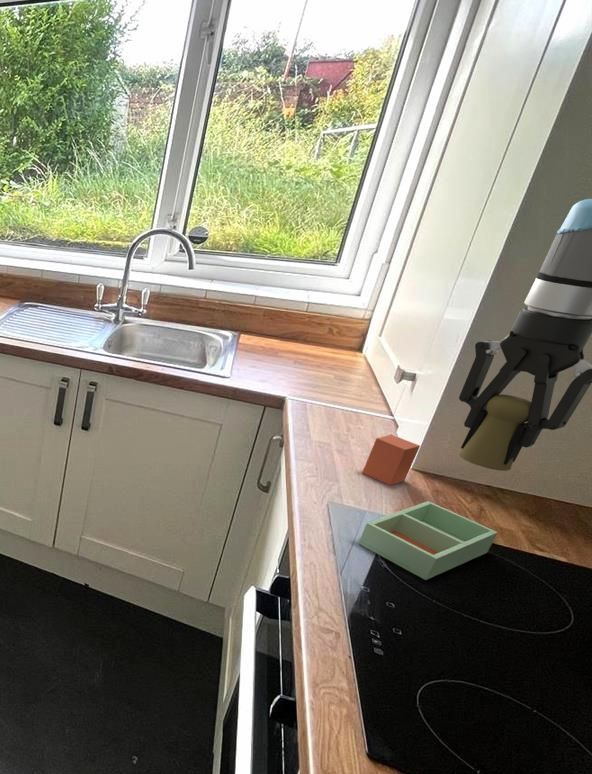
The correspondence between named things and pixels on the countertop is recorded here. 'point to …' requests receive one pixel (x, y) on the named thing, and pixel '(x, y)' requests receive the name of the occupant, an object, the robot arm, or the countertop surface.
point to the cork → (496, 432)
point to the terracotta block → (390, 459)
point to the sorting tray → (427, 539)
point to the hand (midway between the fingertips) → (487, 454)
